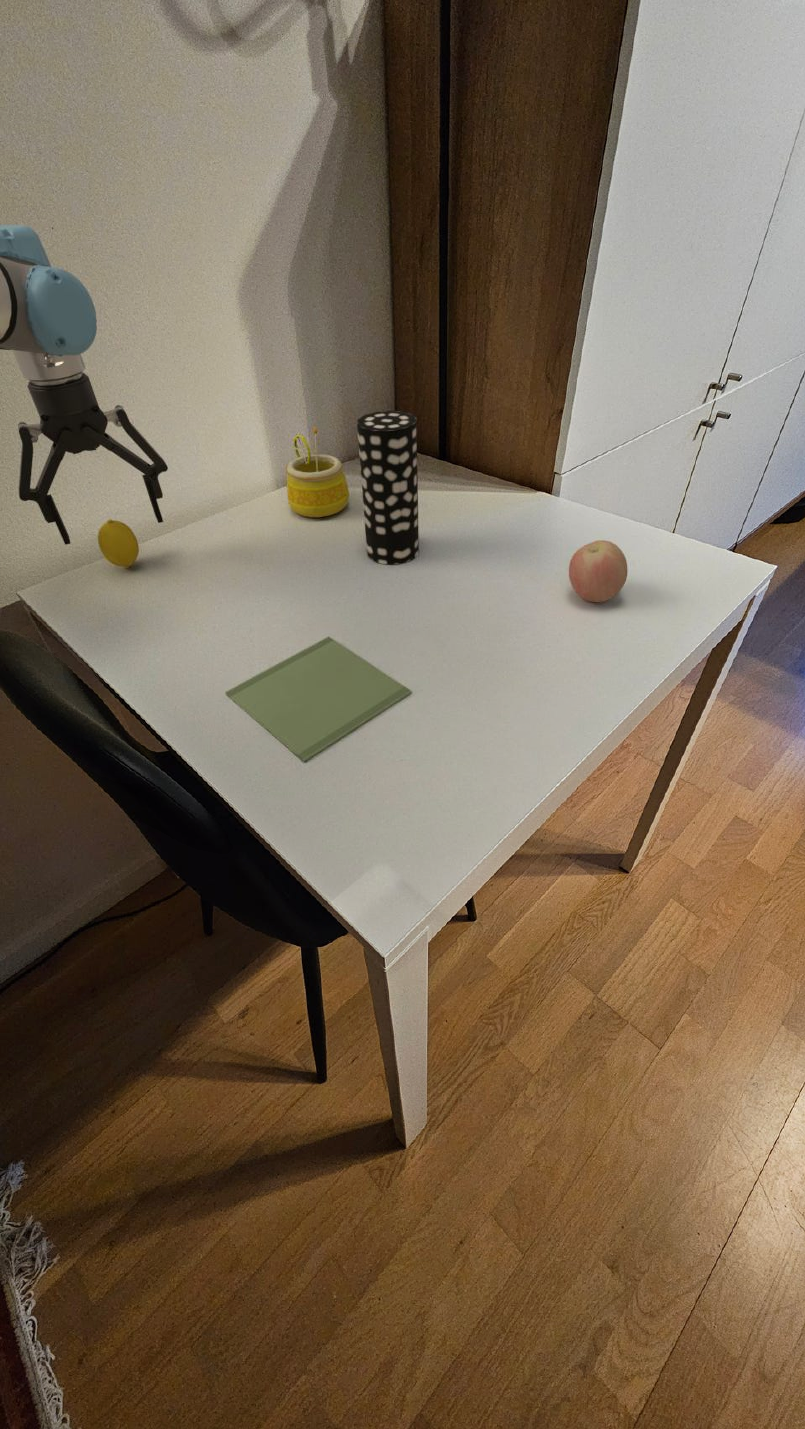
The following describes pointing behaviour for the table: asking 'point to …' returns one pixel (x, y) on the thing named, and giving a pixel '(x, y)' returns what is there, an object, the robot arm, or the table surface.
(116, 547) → the lemon
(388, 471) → the white-spotted black cylinder
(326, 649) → the napkin
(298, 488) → the yellow pot
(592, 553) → the apple
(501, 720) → the table surface
